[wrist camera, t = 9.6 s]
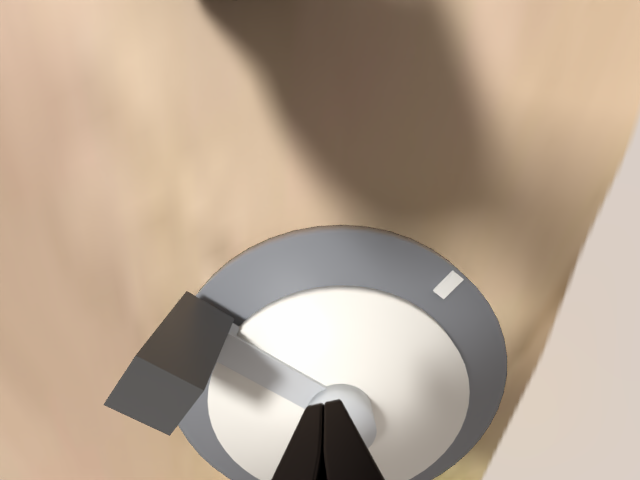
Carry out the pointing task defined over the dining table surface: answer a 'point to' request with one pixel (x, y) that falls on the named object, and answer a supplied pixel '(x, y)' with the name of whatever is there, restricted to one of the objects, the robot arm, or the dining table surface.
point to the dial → (305, 375)
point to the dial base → (372, 272)
